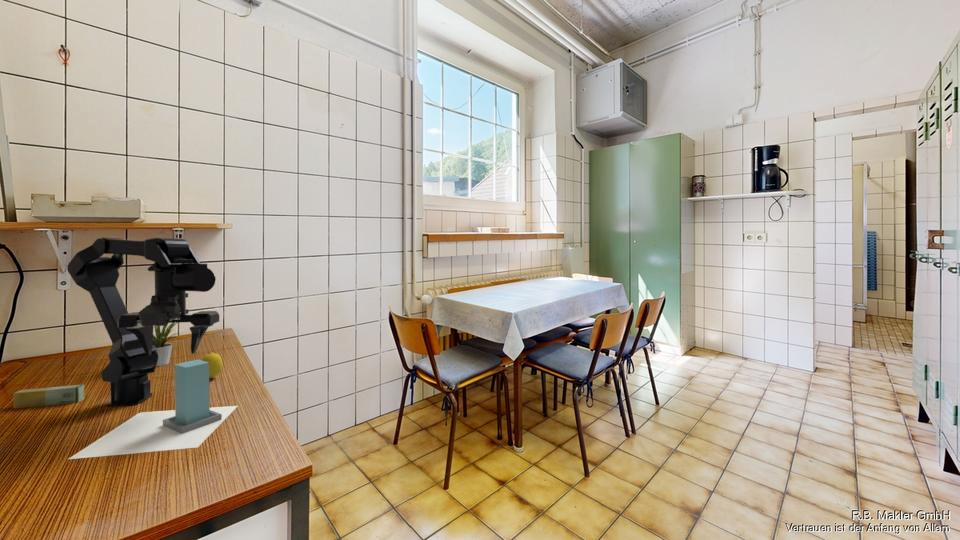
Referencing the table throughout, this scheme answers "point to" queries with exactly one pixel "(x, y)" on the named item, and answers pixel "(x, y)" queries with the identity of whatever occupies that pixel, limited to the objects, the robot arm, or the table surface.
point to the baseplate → (150, 435)
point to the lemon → (213, 363)
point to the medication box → (48, 396)
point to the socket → (182, 429)
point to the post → (191, 392)
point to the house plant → (163, 344)
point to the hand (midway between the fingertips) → (171, 354)
